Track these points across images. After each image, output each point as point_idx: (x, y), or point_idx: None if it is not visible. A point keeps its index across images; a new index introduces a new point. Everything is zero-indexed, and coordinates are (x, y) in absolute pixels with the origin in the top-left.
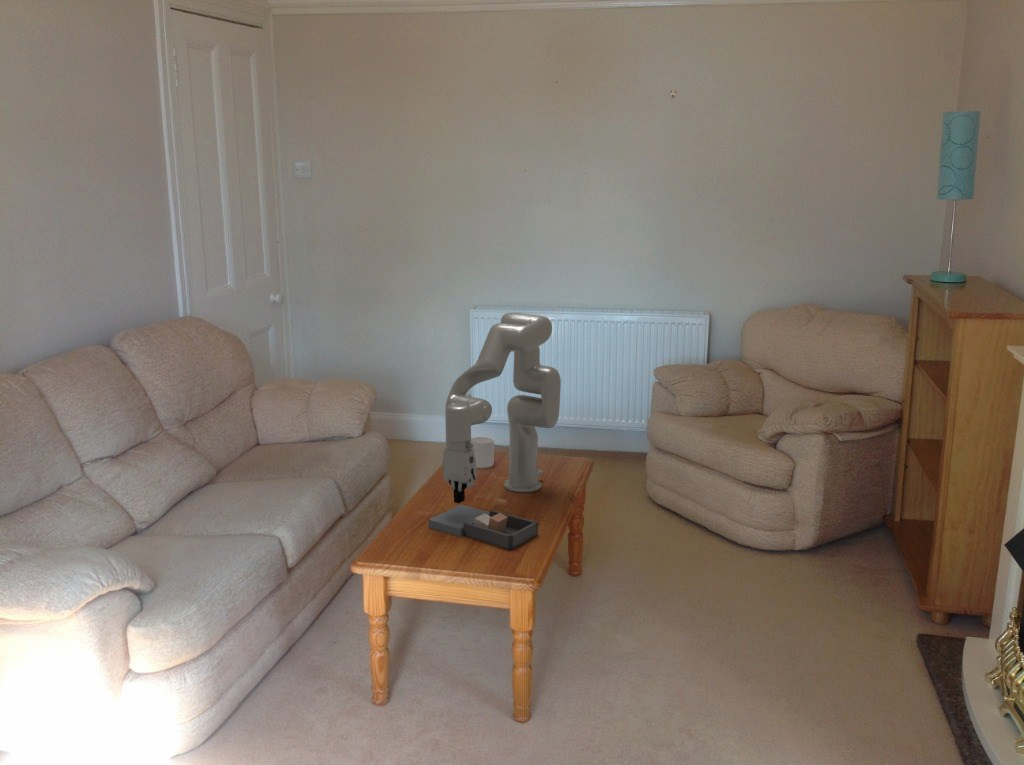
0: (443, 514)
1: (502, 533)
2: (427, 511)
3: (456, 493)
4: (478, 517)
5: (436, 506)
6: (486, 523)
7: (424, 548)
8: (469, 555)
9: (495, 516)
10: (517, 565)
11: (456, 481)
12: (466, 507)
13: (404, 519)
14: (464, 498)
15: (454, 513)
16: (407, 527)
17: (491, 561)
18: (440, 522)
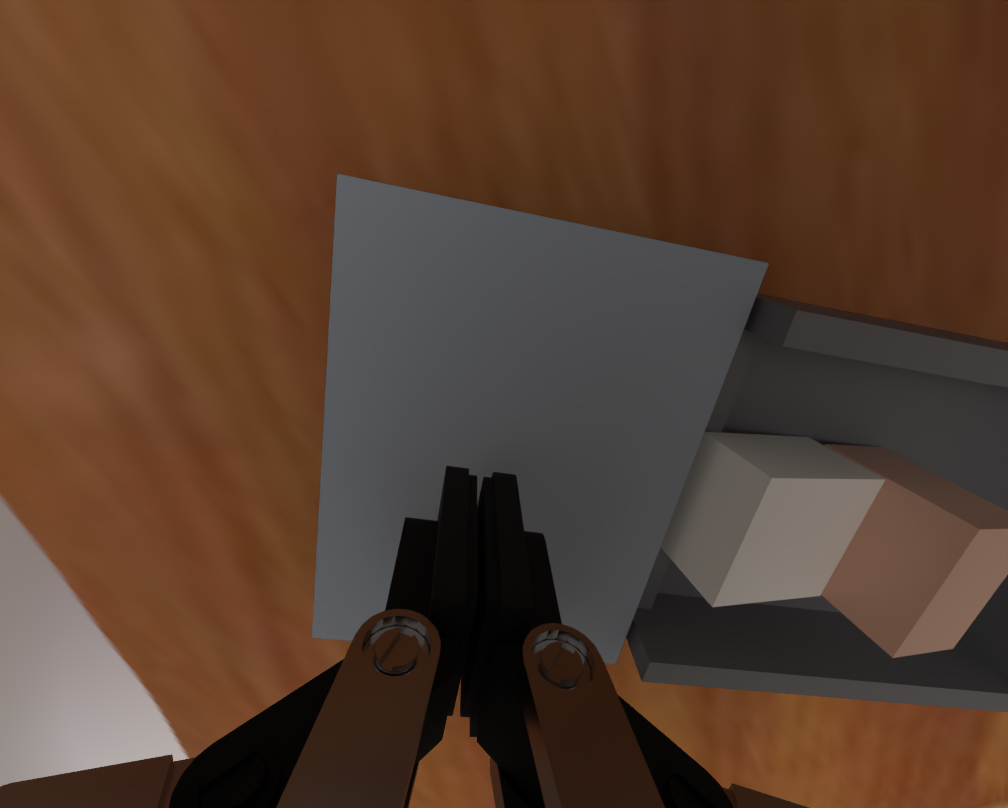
0: (348, 509)
1: (963, 697)
2: (73, 321)
3: (461, 686)
4: (735, 575)
5: (27, 142)
6: (806, 585)
7: (488, 786)
8: (732, 755)
9: (936, 609)
10: (982, 741)
11: (339, 774)
12: (443, 238)
13: (73, 551)
14: (541, 535)
15: (422, 447)
16: (210, 643)
17: (853, 758)
18: None
